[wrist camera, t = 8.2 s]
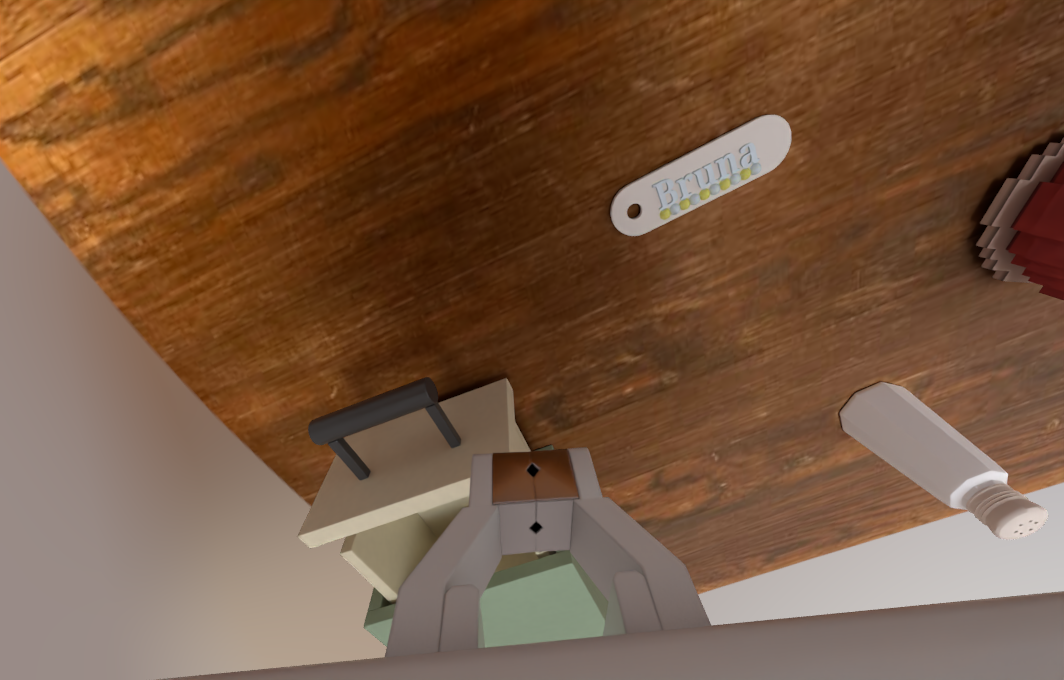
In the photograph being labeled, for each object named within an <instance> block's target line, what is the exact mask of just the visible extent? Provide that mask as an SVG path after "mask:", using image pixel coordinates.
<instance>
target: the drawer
mask: <svg viewBox="0 0 1064 680" xmlns="http://www.w3.org/2000/svg"><path fill="white" fill-rule="evenodd" d="M437 401H438V392H437V389H436V386H435V384H434V382H433V381H432V380H431V379H430V378H429V377H425V378H423V379H420V380H417V381H415V382H412V383H409V384H407V385H404V386H401V387H399V388H396V389H393V390H391V391H388V392H385V393H383V394H380V395H377V396H375V397H372V398H369V399H367V400H364V401H361V402H359V403H356V404H353V405H351V406H348V407H345V408H343V409H340V410H337V411H335V412H332V413H329V414H327V415H324V416H321V417H319V418H316V419H314V420H312V421H311V422H310V424H309V428H308V431H309V435H310V438H311V439H312V441H313V442H314V443H315V444H317V445H324V444H327V443H328V445H329V446H330V447H331V448H332V449H333V450H334V452H335V453H336V456H335V458H334V460H333V463H332V465H331V467H330V469H329V471H328V473H327V475H326V477H325V479H324V482H323V484H322V486H321V488H320V490H319V492H318V494H317V496H316V498H315V500H314V503H313V505H312V507H311V509H310V511H309V513H308V515H307V517H306V520H305V521H304V524H303V526H302V528H301V530H300V532H299V534H298V538H299V539H300V540H301V541H302V542H303V543H305V544H306V545H307V546H308V547H309V548H310V549H311V548H314V547H317V546H320V545H323V544H326V543H329V542H332V541H335V540H338V539H341V538H344V537H346V538H345V541H344V544H343V547H342V549H341V552H340V555H341V556H342V557H343V558H344V559H345V560H346V561H347V562H348V563H349V564H350V565H351V566H352V567H353V568H354V569H355V570H357V571H358V572H359V573H360V574H361V575H362V576H363V577H364V578H365V579H366V580H367V581H368V582H369V583H370V584H371V585H372V586H373V587H374V588H375V589H377V590H378V591H379V592H380V593H381V594H382V595H383V596H384V597H385V598H386V599H387V600H388V601H389V602H390V603H391V604H396V600H397V595H398V590H399V588H400V586H401V585H402V584H403V582H404V581H405V580H406V579H407V577H408V576H409V575H410V574H411V572H412V571H413V570H414V569H415V567H416V566H417V565H418V563H419V562H420V561H421V560H422V558H423V557H424V556H425V555H426V553H427V552H428V551H429V550H430V548H431V547H432V546H433V544H434V543H435V542H436V541H437V539H438V538H439V537H440V536H441V534H442V533H443V532H444V531H445V529H446V528H447V527H448V525H449V524H450V523H451V522H452V520H453V519H454V518H455V517H456V515H457V514H458V513H459V512H460V510H461V509H462V508H464V507H469V493H470V477H471V461H472V456H473V454H491V453H492V454H493V453H505V452H530V451H531V450H530V449H529V447H528V445H527V443H526V441H525V439H524V437H523V435H522V433H521V432H520V430H519V428H518V426H517V424H516V422H515V414H514V398H513V389H512V387H511V386H510V384H509V382H508V380H507V378H505V379H502V380H500V381H497V382H494V383H491V384H489V385H486V386H483V387H480V388H478V389H475V390H472V391H470V392H467V393H464V394H461V395H459V396H456V397H453V398H450V399H448V400H445V401H442V402H440V403H438V402H437ZM422 408H423V409H422ZM419 409H420V410H419ZM417 410H418V411H417ZM414 411H415V412H414ZM411 412H412V413H411ZM408 413H409V414H408ZM406 414H407V415H406ZM403 415H404V416H403ZM400 416H401V417H400ZM397 417H399V418H397ZM395 418H396V419H395ZM392 419H393V420H392ZM389 420H390V421H389ZM387 421H388V422H387ZM384 422H385V423H384ZM381 423H382V424H381ZM378 424H379V425H378ZM376 425H377V426H376ZM373 426H374V427H373ZM370 427H371V428H370ZM367 428H369V429H367ZM365 429H366V430H365ZM362 430H363V431H362ZM359 431H360V432H359ZM357 432H358V433H357ZM354 433H355V434H354ZM351 434H352V435H351ZM348 435H349V436H348ZM346 436H347V437H346ZM343 437H345V438H343ZM553 554H556V551H541V552H529V553H520V554H511V555H502V558H501V560H500V562H499V564H498V566H497V568H496V570H495V572H498V571H501V570H505V569H508V568H511V567H514V566H517V565H521V564H524V563H527V562H530V561H534V560H537V559H540V558H543V557H546V556H550V555H553ZM495 572H494V573H495Z"/></svg>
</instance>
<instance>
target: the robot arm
mask: <svg viewBox="0 0 1064 680" xmlns="http://www.w3.org/2000/svg"><path fill="white" fill-rule="evenodd" d="M560 550H570V553H571V554H572V555H573V556H574V558H575V559H576V560H577V562H578V563H579V564H580V566H581V567H582V568H583V569H584V571H585V572H586V573H587V575H588V576H589V577H590V578H591V580H592V581H593V582H594V584H595V585H596V586H597V588H598V589H599V590H600V591H601V593H602V594H603V595H604V597H605V598H606V599H607V601H608V602H609V603H608V608H607V614H606V620H605V626H604V631H603V636H599V637H589V638H579V639H568V640H558V641H548V642H538V643H528V644H518V645H507V646H497V647H487V648H485V642H484V632H483V623H482V613H481V604H480V598H481V596H482V594H483V593H484V591H485V589H486V587H487V585H488V583H489V581H490V579H491V577H492V576H493V574H494V572H495V570H496V568H497V566H498V564H499V562H500V560H501V558H502V555H511V554H520V553H529V552H541V551H560ZM157 680H1064V592H1052V593H1042V594H1032V595H1021V596H1011V597H1001V598H992V599H981V600H970V601H960V602H950V603H940V604H930V605H919V606H909V607H898V608H889V609H878V610H868V611H858V612H847V613H837V614H827V615H816V616H806V617H797V618H786V619H775V620H765V621H754V622H745V623H735V624H724V625H713V626H711V624H710V622H709V619H708V617H707V615H706V612H705V610H704V608H703V605H702V603H701V601H700V598H699V596H698V594H697V591H696V589H695V587H694V584H693V582H692V580H691V577H690V575H689V573H688V570H687V568H686V566H685V564H684V563H682V562H681V561H680V560H679V559H678V558H677V557H676V556H674V555H673V554H672V553H671V552H670V551H669V550H668V549H667V548H665V547H664V546H663V545H662V544H661V543H660V542H659V541H657V540H656V539H655V538H654V537H653V536H652V535H651V534H649V533H648V532H647V531H646V530H645V529H644V528H643V527H642V526H640V525H639V524H638V523H637V522H636V521H635V520H634V519H632V518H631V517H630V516H629V515H628V514H627V513H626V512H625V511H623V510H622V509H621V508H620V507H619V506H618V505H617V504H615V503H614V502H613V501H612V500H611V499H610V498H609V497H604V498H603V497H602V494H601V490H600V487H599V484H598V480H597V477H596V473H595V470H594V467H593V463H592V460H591V456H590V453H589V450H588V449H587V448H586V447H583V448H569V449H556V450H542V451H530V452H505V453H493V454H492V453H491V454H473V456H472V461H471V477H470V493H469V507H464V508H462V509H461V510H460V512H459V513H458V514H457V515H456V517H455V518H454V519H453V520H452V522H451V523H450V524H449V525H448V527H447V528H446V529H445V531H444V532H443V533H442V534H441V536H440V537H439V538H438V539H437V541H436V542H435V543H434V544H433V546H432V547H431V548H430V550H429V551H428V552H427V553H426V555H425V556H424V557H423V558H422V560H421V561H420V562H419V563H418V565H417V566H416V567H415V569H414V570H413V571H412V572H411V574H410V575H409V576H408V577H407V579H406V580H405V581H404V582H403V584H402V585H401V586H400V588H399V590H398V595H397V600H396V605H395V610H394V615H393V620H392V625H391V629H390V634H389V639H388V644H387V649H386V654H385V657H384V658H374V659H364V660H353V661H343V662H333V663H323V664H313V665H302V666H292V667H281V668H271V669H261V670H251V671H240V672H231V673H221V674H210V675H199V676H189V677H178V678H168V679H157Z"/></svg>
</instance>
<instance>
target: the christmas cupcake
mask: <svg viewBox="0 0 1064 680" xmlns="http://www.w3.org/2000/svg"><path fill="white" fill-rule="evenodd" d="M980 224H984V225H988V226H987V228H986V230H985V231H984V233H983V234H982V236H981V238H980V239H979V241H978V243H977V244H976V246H980V247H984V248H983V250H982V251H981V253H980V254H979V257H983V258H986V260H985V261H984V263H983V264H982V266H981V267H983V268H987V269H990V270H997V271H996V272H995V274H994V275H993V277H992V278H995V279H998V280H1001V281H1011V282H1025V283H1036V284H1040V285H1043V287H1042V289H1041V290H1040V291H1039V293H1042V294H1046V295H1049V296H1052V297H1055V298H1058V299H1061V300H1064V138H1063V139H1062V141H1061V143H1049V145H1048V146H1047V148H1046V150H1045V151H1044V153H1043V154H1042V155H1033V154H1032V155H1031V157H1030V158H1029V160H1028V162H1027V163H1026V165H1025V167H1024V168H1023V170H1022V171H1021V173H1020V175H1019V176H1018V178H1017V179H1012V178H1007V179H1006V181H1005V182H1004V184H1003V186H1002V187H1001V189H1000V191H999V192H998V194H997V196H996V197H995V199H994V201H993V202H992V204H991V205H990V207H989V209H988V210H987V212H986V214H985V215H984V217H983V219H982V220H981V222H980Z"/></svg>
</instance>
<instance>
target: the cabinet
mask: <svg viewBox="0 0 1064 680" xmlns="http://www.w3.org/2000/svg"><path fill="white" fill-rule="evenodd" d="M542 450H554V448H553V446H552V445H550V446H547V447H544V448H541V449H538V450H535V451H542ZM608 603H609V602H608V601H607V599H606V598H605V597H604V595H603V594H602V593H601V591H600V590H599V589H598V588H597V586H596V585H595V584H594V582H593V581H592V580H591V578H590V577H589V576H588V575H587V573H586V572H585V571H584V569H583V568H582V567H581V566H580V564H579V563H578V562H577V560H576V559H575V558H574V556H573V555H572V554H571V553H570V550H560V551H556V554H553V555H550V556H546V557H543V558H540V559H537V560H534V561H530V562H527V563H524V564H521V565H517V566H514V567H511V568H508V569H505V570H501V571H498V572H495V573H494V574H493V576H492V577H491V579H490V581H489V583H488V585H487V587H486V589H485V591H484V593H483V594H482V596H481V598H480V604H481V613H482V623H483V632H484V642H485V648H487V647H497V646H507V645H518V644H528V643H538V642H548V641H558V640H568V639H579V638H589V637H599V636H603V631H604V626H605V620H606V614H607V608H608ZM395 605H396V604H391V603H390V602H389V601H388V600H387V599H386V598H385V597H384V596H383V595H382V594H381V593H380V592H379V591H378V590H377V589H375V588H374V589H373V593H372V597H371V601H370V605H369V608H368V612H367V616H366V619H365V623H364V628H365V629H366V630H367V631H369V632H370V633H371V634H372V635H373V636H375V637H376V638H377V639H378V640H379V641H380V642H382V643H383V644H384V645H385V646H386V647H387V644H388V639H389V634H390V629H391V625H392V620H393V615H394V610H395Z"/></svg>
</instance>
